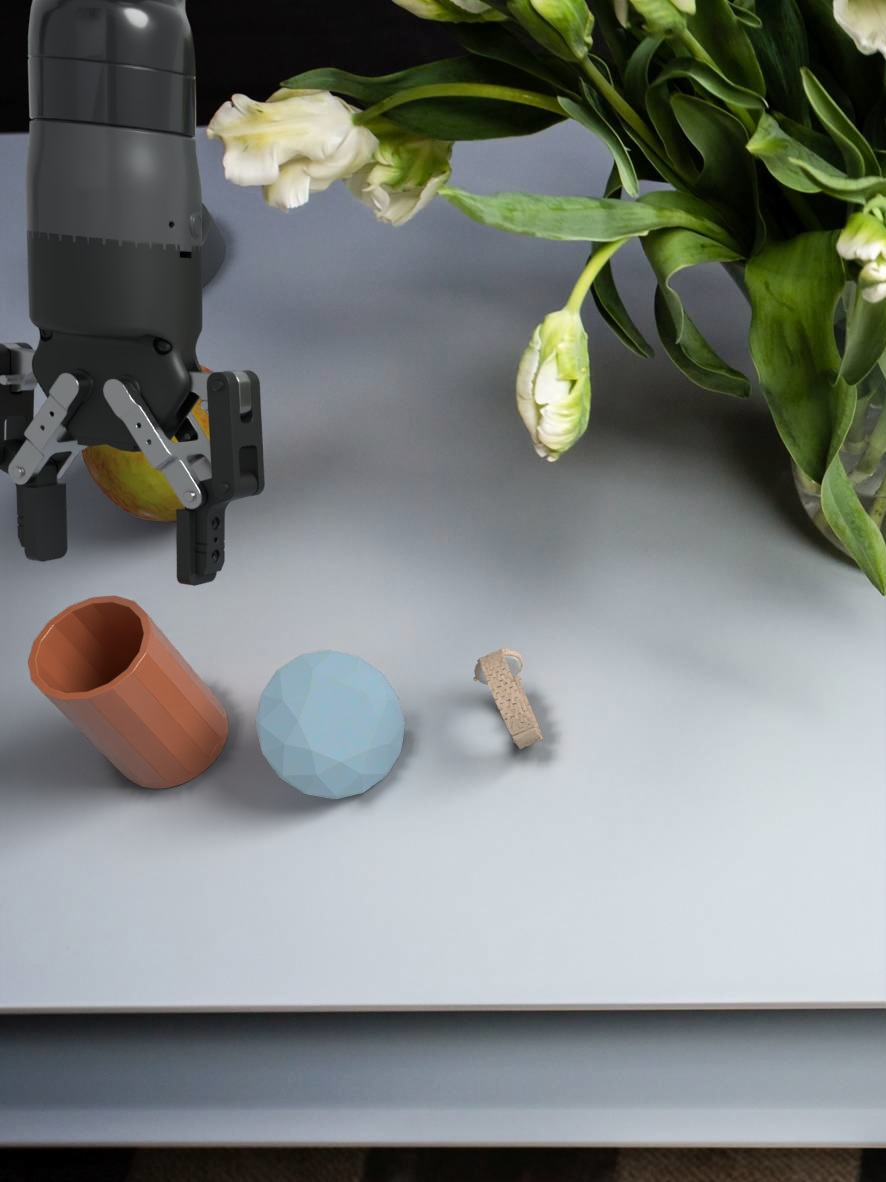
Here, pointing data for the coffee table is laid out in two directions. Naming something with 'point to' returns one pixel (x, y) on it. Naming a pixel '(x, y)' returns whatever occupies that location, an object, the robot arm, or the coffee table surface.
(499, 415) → the coffee table surface
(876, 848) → the coffee table surface
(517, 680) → the wristwatch
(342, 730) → the gemstone
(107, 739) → the cup
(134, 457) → the fruit
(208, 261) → the scale
